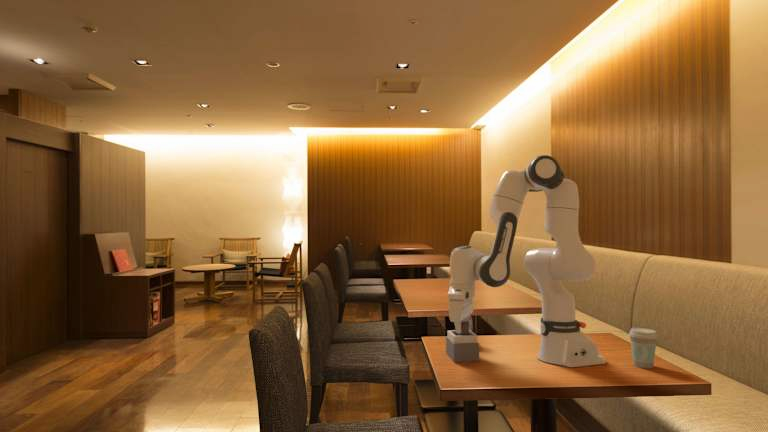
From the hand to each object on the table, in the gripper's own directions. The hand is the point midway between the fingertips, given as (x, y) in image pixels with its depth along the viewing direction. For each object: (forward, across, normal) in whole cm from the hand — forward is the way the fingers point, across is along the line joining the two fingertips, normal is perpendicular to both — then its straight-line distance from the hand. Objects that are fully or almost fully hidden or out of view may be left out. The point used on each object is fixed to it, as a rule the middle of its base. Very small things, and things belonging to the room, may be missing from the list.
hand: (462, 330), depth 168 cm
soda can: (+10, -19, -4) cm, 22 cm away
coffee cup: (+10, -15, +58) cm, 61 cm away
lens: (+4, 0, 0) cm, 4 cm away
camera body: (+10, 0, 0) cm, 10 cm away
